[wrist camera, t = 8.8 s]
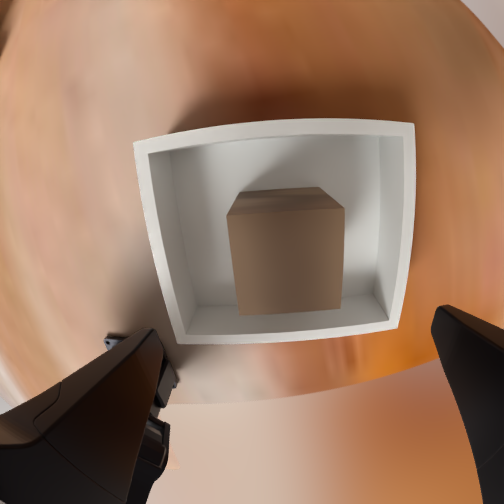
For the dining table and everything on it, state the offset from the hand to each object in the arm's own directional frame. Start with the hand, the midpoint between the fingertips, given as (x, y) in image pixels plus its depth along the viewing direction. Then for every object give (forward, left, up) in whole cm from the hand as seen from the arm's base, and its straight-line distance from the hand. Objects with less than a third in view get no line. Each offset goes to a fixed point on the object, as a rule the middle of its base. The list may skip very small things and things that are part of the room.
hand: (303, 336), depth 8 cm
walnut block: (0, 0, -11) cm, 11 cm away
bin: (0, 0, -12) cm, 12 cm away
